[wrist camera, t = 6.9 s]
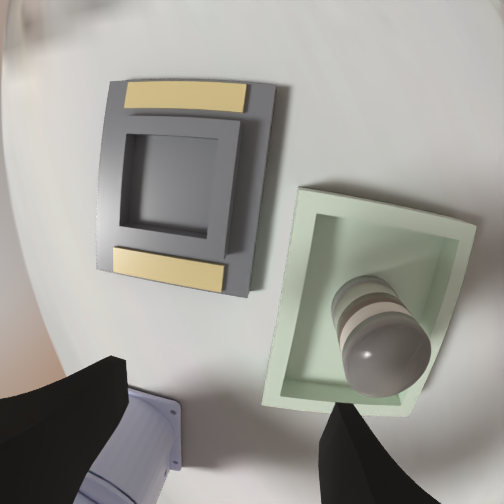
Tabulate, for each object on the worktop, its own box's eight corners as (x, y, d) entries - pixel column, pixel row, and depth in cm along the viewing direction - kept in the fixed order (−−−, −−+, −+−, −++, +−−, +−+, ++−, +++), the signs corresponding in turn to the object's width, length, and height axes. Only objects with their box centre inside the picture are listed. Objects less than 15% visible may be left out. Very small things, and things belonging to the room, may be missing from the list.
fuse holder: (249, 291, 20) (244, 306, 18) (104, 264, 20) (86, 275, 18) (276, 89, 16) (274, 78, 14) (117, 84, 17) (100, 77, 15)
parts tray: (399, 394, 20) (408, 416, 18) (264, 382, 21) (261, 405, 19) (457, 218, 17) (476, 225, 15) (297, 186, 18) (299, 189, 15)
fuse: (389, 337, 19) (418, 395, 13) (327, 336, 19) (337, 398, 13) (401, 276, 18) (440, 320, 12) (334, 273, 18) (352, 320, 12)
